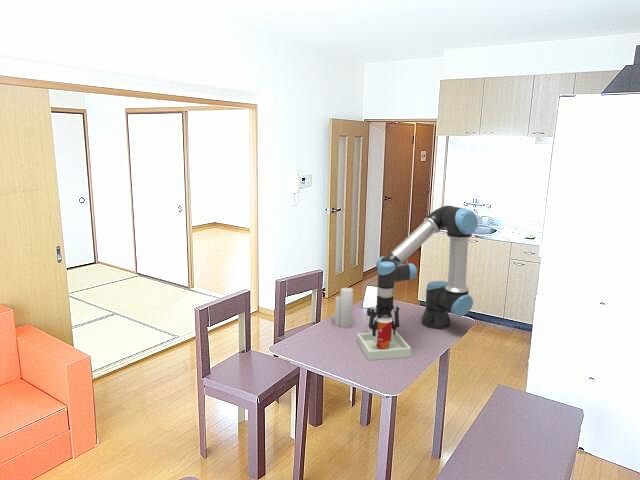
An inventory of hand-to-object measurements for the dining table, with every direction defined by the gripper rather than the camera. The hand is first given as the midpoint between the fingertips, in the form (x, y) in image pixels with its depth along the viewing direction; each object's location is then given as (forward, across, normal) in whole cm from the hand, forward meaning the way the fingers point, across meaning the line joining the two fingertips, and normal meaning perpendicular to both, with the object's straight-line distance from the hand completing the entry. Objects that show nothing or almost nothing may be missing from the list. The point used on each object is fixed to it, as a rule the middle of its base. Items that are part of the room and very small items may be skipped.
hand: (383, 341), depth 222 cm
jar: (+4, -2, -20) cm, 20 cm away
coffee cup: (+3, 0, 0) cm, 3 cm away
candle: (+4, +12, -32) cm, 34 cm away
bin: (+4, 0, 0) cm, 4 cm away
